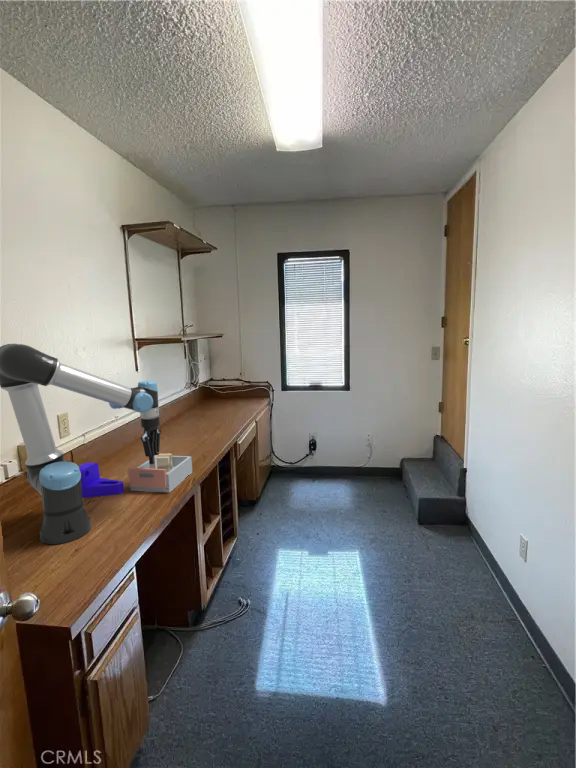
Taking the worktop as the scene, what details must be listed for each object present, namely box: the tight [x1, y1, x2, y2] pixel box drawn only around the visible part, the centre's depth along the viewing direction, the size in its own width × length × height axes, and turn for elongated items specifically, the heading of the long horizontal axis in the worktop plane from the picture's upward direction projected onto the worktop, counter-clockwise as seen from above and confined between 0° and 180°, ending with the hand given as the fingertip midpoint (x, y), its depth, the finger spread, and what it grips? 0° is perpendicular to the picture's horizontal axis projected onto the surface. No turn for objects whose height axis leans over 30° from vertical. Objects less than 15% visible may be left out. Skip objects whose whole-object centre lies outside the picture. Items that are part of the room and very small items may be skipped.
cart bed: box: [127, 455, 193, 493], centre depth 173 cm, size 24×19×8 cm
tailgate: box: [127, 467, 167, 489], centre depth 161 cm, size 8×16×2 cm
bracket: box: [78, 462, 125, 499], centre depth 163 cm, size 18×11×12 cm, turn 85°
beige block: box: [157, 453, 173, 472], centre depth 179 cm, size 6×6×7 cm
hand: (153, 470), depth 166 cm, fingers closed
